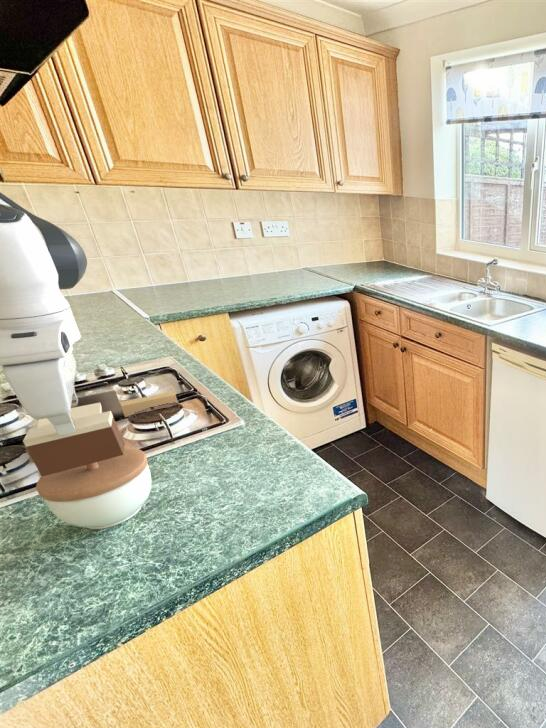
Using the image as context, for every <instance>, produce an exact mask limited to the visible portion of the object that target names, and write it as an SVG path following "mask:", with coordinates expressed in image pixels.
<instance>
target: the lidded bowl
mask: <svg viewBox="0 0 546 728" xmlns="http://www.w3.org/2000/svg"><path fill="white" fill-rule="evenodd" d="M148 462H149V461H148V458H147V455H146V453H145V452H144V451H143V450H141V449H139V448H135V447H130V446H124V454H123V455H121V456H117V457H114V458H110V459H106V460H103V461H99V462H95V463H91V464H88V465H84V466H80V467H77V468H73V469H69V470H65V471H62V472H58V473H54V474H51V475H47V476H43V477H42V476H41V475H40V478H39V479H38V480H37V482H36V484H35V489H36V491H37V493H38V495H39V497H41V498H42V500H43V501H44V503H45V505H46V506H47V508H48V509H49V510H50V512H51V513H52V514H53V515H54V516H55V517H56V518H57V519H59V520H60V521H62V522H64V523H66V524H68V525H70V526H74V527H78V528H79V527H80V528H86V529H90V530H103V529H108V528H112V527H115V526H117V525H120V524H122V523H125V522H127V521H128V520H130V519H131V518H133V517H134V516H136V515H137V514H138V513H139V512H140V510H141V509H142V506H143V505H144V504H145V503H146V501H147V500H148V498H149V495H150V494H151V491H152V483H153V482H152V474H151V473H152V472H151V469H150V467H149V464H148Z"/></svg>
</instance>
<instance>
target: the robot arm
mask: <svg viewBox="0 0 546 728" xmlns="http://www.w3.org/2000/svg"><path fill="white" fill-rule="evenodd" d="M87 267H88V259H87V255H86V252H85V251H84V249H83V248H82V246H81V244H80V243H79V242H78V241H77V240H76V238H74V237H73V236H72V235H71V234H69V233H68V232H66V231H65V230H64V229H62V228H60V227H59V226H57V225H56V224H54V223H52V222H50V221H49V220H46V219H44V218H42V217H39V216H37V215H35V214H34V213H32V212H30V211H29V210H27V209H25V208H24V207H22V206H21V205H20V204H18V203H16V202H15V201H14V200H12V199H11V198H9V197H8V196H7V195H5V194H4V193H3V192H1V191H0V367H1V369H2V370H1V371H2V372H3V375H4V378H5V380H6V381H7V383H8V384H9V386H10V388H11V389H12V391H13V393H14V395H15V396H16V398H17V400H18V401H19V403H20V404H21V407H22V408H23V410H24V411H25V412H26V414H27V415H28V416H30V417H31V418H32V419H33V420H37V419H45V418H47V419H48V420H49V421H50V422H51V423H52V424H53V425H54V427H55V429H56V431H57V434H59V435H66V434H71V433H74V432H75V427H76V426H75V424H74V421H73V419H72V418H71V416H70V414H69V413H70V411H71V407H76V406H77V405H78V399H77V397H78V396H77V394H76V388H75V382H76V381H75V379H76V372H77V361H76V358H75V356H74V353H73V351H74V346H73V345H74V344H75V343H77V342H78V341H80V340H81V339H82V335H81V332H80V330H79V327H78V324H77V321H76V319H75V318H76V317H75V316H74V313H73V310H72V308H71V305H70V303H69V301H68V299H66V298H65V296H64V295H63V293H62V292H61V291H62V290H72V289H73V288H75V286H77V284H78V283H80V282H81V279H82V278H83V277H84V275H85V273H86V272H87Z"/></svg>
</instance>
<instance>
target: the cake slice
mask: <svg viewBox="0 0 546 728" xmlns="http://www.w3.org/2000/svg"><path fill="white" fill-rule="evenodd" d="M73 421H74V424H75V426H76V427H75V432H74V433H71V434H66V435H59V434H57V431H56V429H55V427H54V425H53V424H49V425H44V426H40V427H37V426H36V427H31V428H30V427H29V429H28V430H27V433H26V434H25V436H24V438H23V440H22V443H23V444H24V446H25V448H26V450H27V452H28V453H29V455H30V457H31V459H32V461H33V463H34V465H35V467H36V469H37V470H38V473H39V475H40V477H41V476H42V477H43V476H47V475H51V474H54V473H58V472H62V471H65V470H69V469H73V468H77V467H80V466H84V465H88V464H91V463H95V462H99V461H103V460H106V459H110V458H114V457H117V456H121V455H123V454H124V447H125V441H124V439H123V436H122V434H121V431H120V429H119V427H118V425H117V422H116V420H115V418H114V417H113V415H112V413H111V411H108V412H103V413H99V414H94V415H90V416H85V417H81V418H76V419H73Z"/></svg>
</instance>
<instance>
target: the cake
mask: <svg viewBox="0 0 546 728" xmlns="http://www.w3.org/2000/svg"><path fill="white" fill-rule="evenodd" d="M103 412H104V411H103V409H102V406H101V404H100V403H95V404H90V405H84V406H79V407H74V408H71V411H70V413H69V414H70V416H71V418H72V419H76V418H81V417H85V416H90V415H94V414H99V413H103ZM49 424H52V423H51V422H50V421H49V420H48V419H47V418H45V419H38V420H37V424H36V427H40V426H44V425H49Z"/></svg>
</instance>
